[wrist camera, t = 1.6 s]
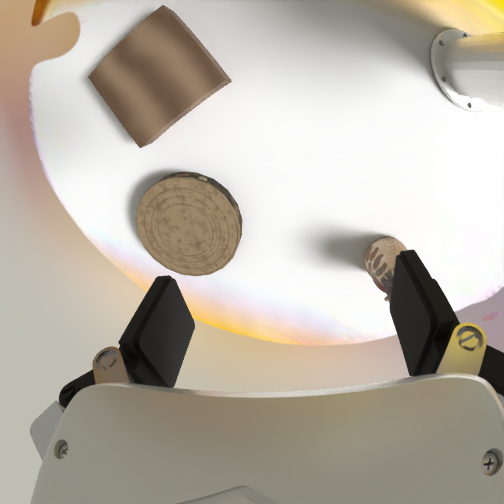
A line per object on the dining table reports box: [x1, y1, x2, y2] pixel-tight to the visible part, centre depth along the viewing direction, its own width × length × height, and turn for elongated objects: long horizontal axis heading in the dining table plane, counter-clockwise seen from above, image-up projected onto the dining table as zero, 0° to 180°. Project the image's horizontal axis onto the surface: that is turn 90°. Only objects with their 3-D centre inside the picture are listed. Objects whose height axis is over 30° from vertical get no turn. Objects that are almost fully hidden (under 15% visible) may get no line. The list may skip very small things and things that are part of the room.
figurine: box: [364, 237, 407, 303], centre depth 35 cm, size 7×7×12 cm
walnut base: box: [88, 5, 232, 148], centre depth 28 cm, size 14×14×4 cm
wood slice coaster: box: [136, 172, 242, 276], centre depth 40 cm, size 16×16×3 cm
